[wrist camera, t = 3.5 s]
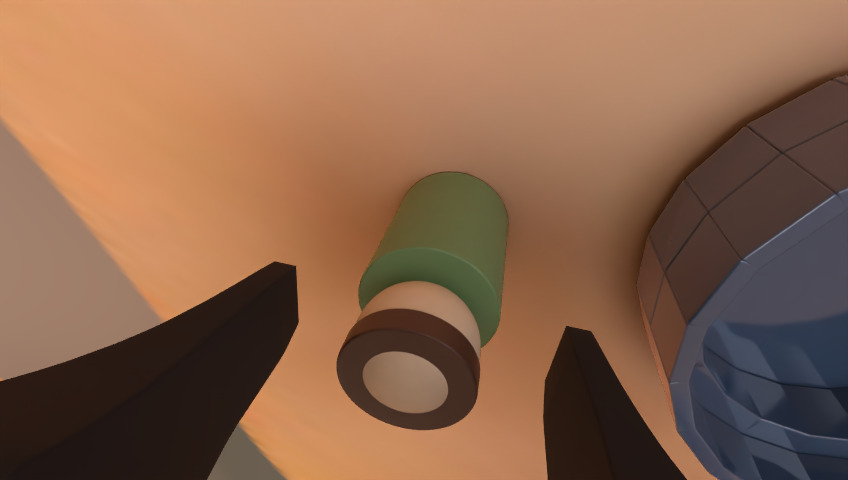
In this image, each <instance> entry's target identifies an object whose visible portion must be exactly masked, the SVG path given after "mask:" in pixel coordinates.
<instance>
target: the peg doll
mask: <svg viewBox="0 0 848 480" xmlns="http://www.w3.org/2000/svg"><path fill="white" fill-rule="evenodd" d="M507 233H508V216H507V212H506V209H505V206H504V204H503V202H502V200H501V199H500V197H499V196H498V194H497V193H496V192H495V191H494V190H493V189H492V188H491V187H490V186H488V185H487V184H486V183H484V182H483V181H481V180H480V179H477V178H475V177H473V176H470V175H467V174H463V173H458V172H443V173H437V174H434V175H430V176H428V177H426V178H424V179H422V180H420V181H419V182H417V183H416V184H415V185H414V186H413V187H412V188H411V189H410V190H409V191H408V193H407V194H406V196H405V198H404V199H403V201H402V203H401V205H400V207H399V209H398V211H397V213H396V214H395V216H394V218H393V220H392V222H391V224H390V226H389V227H388V229H387V231H386V233H385V235H384V237H383V239H382V240H381V242H380V244H379V246H378V248H377V250H376V252H375V253H374V255H373V257H372V259H371V261H370V263H369V265H368V267H367V268H366V270H365V272H364V274H363V276H362V279H361V281H360V285H359V304H360V308H361V311H362V312H361V314H360V316H359V318H358V320H357V323H356V324H355V325H354V326H353V327H352V329H351V330H350V332H349V333H348V335H347V337H346V340H345V342H344V344H343V346H342V348H341V350H340V352H339V354H338V358H337V375H338V378H339V381H340V384H341V386H342V388H343V390H344V391H345V393H346V394H347V395H348V397H349V398H350V399H351V400H352V401H353V402H354V403H355V404H356V405H357V406H358V407H360V408H361V409H362V410H363V411H365V412H366V413H368V414H369V415H371V416H373V417H375V418H377V419H378V420H381V421H383V422H385V423H388V424H391V425H394V426H397V427H401V428H406V429H413V430H434V429H440V428H445V427H448V426H451V425H453V424H455V423H457V422H459V421H460V420H462V419H463V418H464V417H465V416H466V415H468V413H469V412H470V411H471V410H472V408H473V406H474V404H475V402H476V399H477V395H478V387H479V379H480V363H479V359H480V351H481V348H482V347H484V346H485V345H486V344H487V343H488V342H489V341H490V340H491V338H492V337H493V335H494V334H495V332H496V330H497V328H498V325H499V321H500V314H501V302H502V291H503V279H504V267H505V256H506V244H507Z"/></svg>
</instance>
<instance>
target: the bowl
mask: <svg viewBox="0 0 848 480" xmlns="http://www.w3.org/2000/svg"><path fill="white" fill-rule="evenodd" d="M685 179H686V180H683V181H682V182H681V184H680V185H679V187H678V189H677V190H676V192H675V193H674V195H673V196H672V198H671V199H670V201H669V202H668V204H667V205H666V207H665V209H664V210H663V212H662V213H661V215H660V216H659V218H658V219H657V221H656V222H655V224H654V225H653V227H652V229H651V230H650V232H649V234H648V236H647V240H646V245H645V249H644V253H643V258H642V262H641V266H640V270H639V275H638V279H637V291H638V296H639V301H640V306H641V311H642V316H643V322H644V327H645V330H646V333H647V336H648V340H649V343H650V346H651V349H652V353H653V356H654V359H655V362H656V365H657V369H658V371H659V375H660V378H661V382H662V385H663V388H664V391H665V394H666V398H667V401H668V404H669V407H670V410H671V414H672V417H673V420H674V423H675V427H676V430H677V432H678V433H679V435H680V436H681V437H682V439H683V440H684V441H685V443H686V444H687V445H688V447H689V448H690V449H691V450H692V452H693V453H694V454H695V456H696V457H697V458H698V460H699V461H700V462H701V464H702V465H703V466H704V468H705V469H706V470H707V471H708V472H709V473H710V474H711V475H713V476H714V477H716V478H717V479H719V480H848V74H847V75H843V76H840V77H836V78H834V79H833V80H829V81H827V82H825V83H824V84H822V85H820V86H818V87H816V88H814V89H812V90H810V91H808V92H807V93H805V94H803V95H801V96H799V97H797V98H795V99H793V100H791V101H790V102H788V103H786V104H784V105H782V106H780V107H778V108H776V109H774V110H773V111H771V112H769V113H767V114H765V115H763V116H761V117H759V118H757V119H756V120H754V121H752V122H750V123H748V124H747V126H745V127H743V128H742V129H740V130H739V131H738V132H737V133H736V134H735V135H734V136H732V137H731V138H730V139H729V140H728V141H727V142H726V143H724V144H723V145H722V146H721V147H720V148H719V149H718V150H716V151H715V152H714V153H713V154H712V155H711V156H710V157H708V158H707V159H706V160H705V161H704V162H703V163H702V164H700V165H699V166H698V167H697V168H696V169H695V170H694V171H692V172H691V173H690V174H689V175H688V176H687V177H686V178H685Z"/></svg>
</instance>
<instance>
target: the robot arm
mask: <svg viewBox="0 0 848 480" xmlns="http://www.w3.org/2000/svg"><path fill="white" fill-rule="evenodd" d="M298 323H299V318H298V297H297V276H296V266H293V265H289V264H284V263H280V262H273V263H271V264H269V265H267V266H266V267H264V268H262V269H260V270H259V271H257V272H255V273H254V274H252V275H250V276H248V277H247V278H245V279H243V280H242V281H240V282H238V283H237V284H235V285H233V286H231V287H230V288H228V289H226V290H224V291H223V292H221V293H219V294H217V295H216V296H214V297H212V298H210V299H209V300H207V301H205V302H203V303H201V304H199V305H197V306H195V307H193V308H191V309H190V310H188V311H186V312H184V313H182V314H180V315H178V316H176V317H174V318H172V319H170V320H168V321H166V322H164V323H162V324H160V325H158V326H156V327H154V328H151V329H149V330H147V331H145V332H142V333H140V334H137V335H135V336H133V337H130V338H128V339H126V340H123V341H121V342H118V343H116V344H113V345H111V346H108V347H105V348H103V349H100V350H97V351H94V352H92V353H89V354H86V355H83V356H80V357H78V358H75V359H72V360H69V361H67V362H64V363H61V364H57V365H54V366H51V367H48V368H45V369H42V370H38V371H35V372H32V373H28V374H25V375H21V376H18V377H15V378H11V379H7V380H3V381H0V480H207V478H208V476H209V475H210V473H211V471H212V469H213V467H214V465H215V463H216V461H217V459H218V457H219V456H220V454H221V452H222V450H223V448H224V446H225V444H226V443H227V441H228V439H229V437H230V436H231V434H232V432H233V431H234V429H235V427H236V426H237V424H238V423H239V421H240V420H241V418H242V417H243V415H244V414H245V412H246V411H247V409H248V408H249V406H250V405H251V403H252V402H253V400H254V399H255V397H256V395H257V394H258V392H259V391H260V389H261V388H262V386H263V385H264V383H265V382H266V380H267V379H268V377H269V376H270V374H271V373H272V371H273V370H274V368H275V367H276V365H277V364H278V362H279V360H280V359H281V357H282V356H283V354H284V352H285V350H286V348H287V346H288V344H289V342H290V340H291V338H292V336H293V334H294V331H295V329H296V327H297V325H298ZM543 420H544V435H545V449H546V461H547V474H548V480H687V479H686V478H685V476H684V475H683V474H682V473H681V471H680V470H679V469H678V468H677V466H676V465H675V464H674V463H673V461H672V460H671V459H670V457H669V456H668V455H667V453H666V452H665V451H664V449H663V448H662V447H661V445H660V444H659V442H658V441H657V439H656V438H655V436H654V435H653V434H652V432H651V431H650V429H649V428H648V426H647V425H646V423H645V422H644V420H643V419H642V417H641V416H640V414H639V413H638V411H637V409H636V408H635V406H634V405H633V403H632V401H631V400H630V398H629V396H628V395H627V393H626V392H625V390H624V388H623V387H622V385H621V383H620V382H619V380H618V378H617V376H616V375H615V373H614V371H613V369H612V368H611V366H610V364H609V362H608V361H607V359H606V357H605V355H604V353H603V352H602V350H601V348H600V346H599V344H598V342H597V341H596V339H595V337H594V335H593V334H592V332H591V331H587V330H583V329H578V328H574V327H569V326H566V328H565V331H564V333H563V336H562V338H561V341H560V343H559V346H558V349H557V351H556V354H555V356H554V359H553V361H552V364H551V366H550V369H549V372H548V374H547V377H546V379H545V391H544V414H543Z"/></svg>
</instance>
